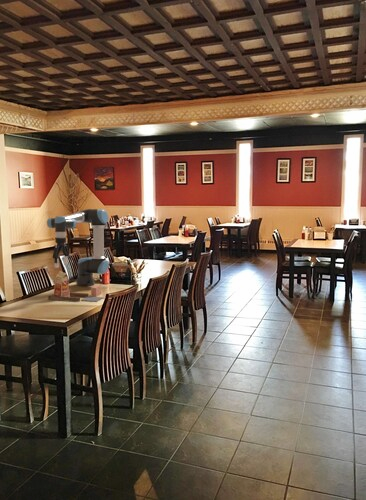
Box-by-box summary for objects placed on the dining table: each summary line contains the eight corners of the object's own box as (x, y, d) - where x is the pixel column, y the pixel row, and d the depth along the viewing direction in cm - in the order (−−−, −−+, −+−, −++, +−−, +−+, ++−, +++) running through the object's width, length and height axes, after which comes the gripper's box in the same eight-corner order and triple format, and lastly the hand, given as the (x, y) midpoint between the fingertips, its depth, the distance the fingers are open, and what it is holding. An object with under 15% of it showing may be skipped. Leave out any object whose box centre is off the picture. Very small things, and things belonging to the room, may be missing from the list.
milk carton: (53, 298, 311) (52, 271, 309) (62, 295, 319) (61, 269, 317) (62, 299, 307) (61, 272, 305) (71, 297, 315) (70, 270, 313)
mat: (88, 297, 315) (88, 296, 315) (103, 298, 313) (103, 297, 313) (81, 300, 304) (81, 300, 304) (96, 301, 301) (96, 301, 301)
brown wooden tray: (58, 295, 322) (58, 291, 322) (88, 296, 317) (88, 293, 317) (48, 299, 307) (48, 296, 307) (79, 301, 302) (79, 297, 302)
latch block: (96, 293, 327) (96, 285, 327) (101, 294, 327) (101, 285, 326) (91, 296, 318) (91, 287, 317) (96, 297, 317) (96, 287, 316)
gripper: (64, 236, 321) (64, 263, 323) (47, 238, 297) (47, 268, 299) (73, 236, 319) (73, 264, 322) (56, 238, 295) (57, 268, 298)
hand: (61, 266), depth 310 cm, fingers open, 13 cm apart
